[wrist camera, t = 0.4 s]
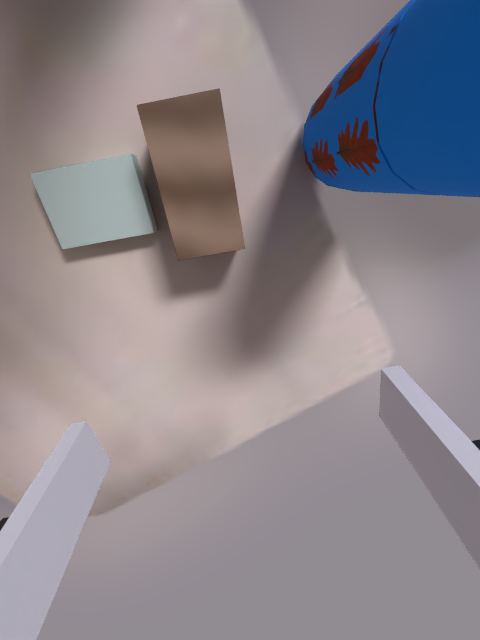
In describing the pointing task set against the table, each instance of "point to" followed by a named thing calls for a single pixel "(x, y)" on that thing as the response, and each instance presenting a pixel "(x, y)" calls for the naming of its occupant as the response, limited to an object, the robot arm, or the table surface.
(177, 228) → the tan notched block
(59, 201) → the board
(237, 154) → the table surface
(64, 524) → the robot arm
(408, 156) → the thermos
